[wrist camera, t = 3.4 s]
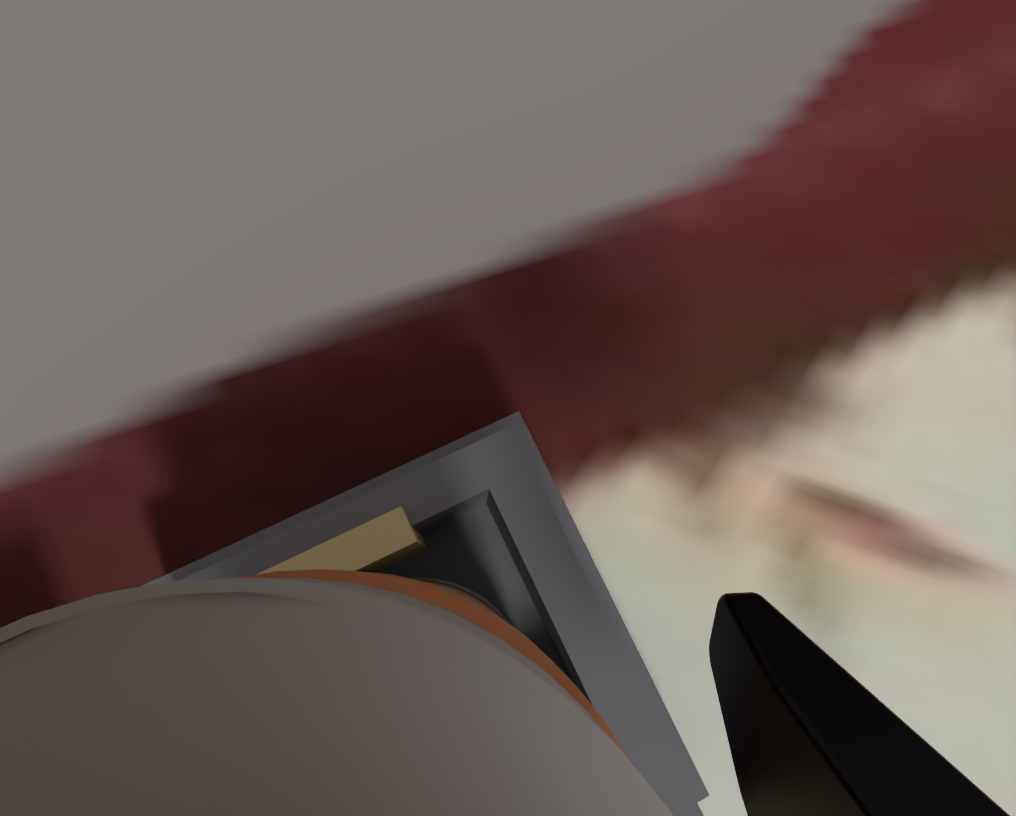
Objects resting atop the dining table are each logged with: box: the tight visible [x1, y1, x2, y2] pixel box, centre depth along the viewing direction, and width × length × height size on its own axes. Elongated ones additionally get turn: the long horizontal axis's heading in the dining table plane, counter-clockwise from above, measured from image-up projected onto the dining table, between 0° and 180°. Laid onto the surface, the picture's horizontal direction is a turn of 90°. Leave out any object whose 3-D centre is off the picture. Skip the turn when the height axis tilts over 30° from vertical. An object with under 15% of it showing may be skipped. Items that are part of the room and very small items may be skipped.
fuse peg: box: [0, 569, 673, 816], centre depth 8 cm, size 4×4×12 cm
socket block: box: [141, 411, 709, 816], centre depth 13 cm, size 8×8×4 cm
